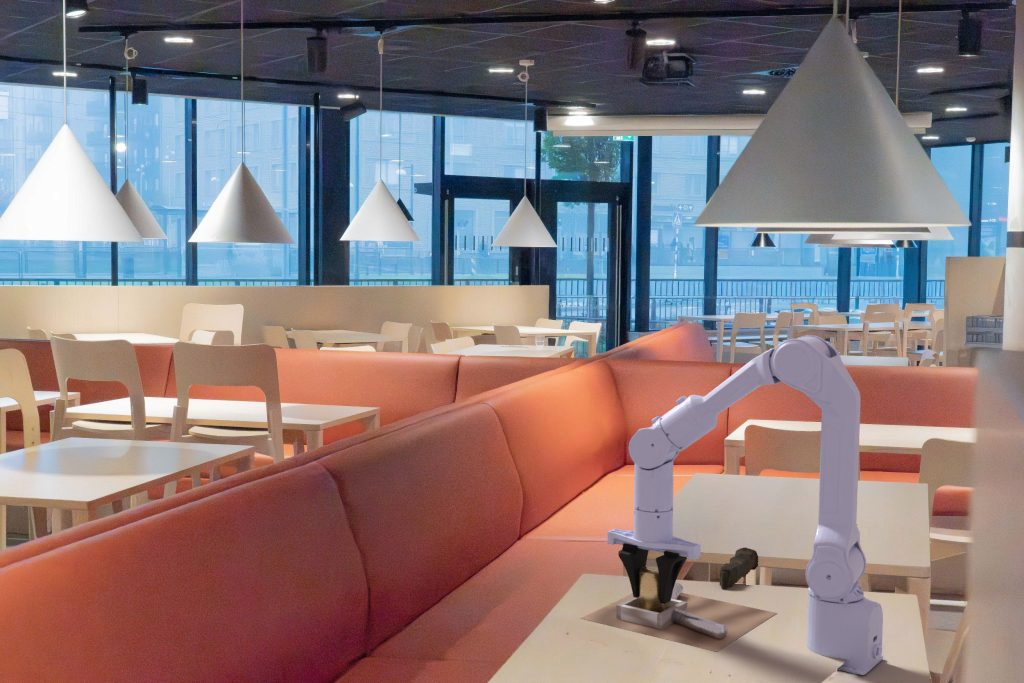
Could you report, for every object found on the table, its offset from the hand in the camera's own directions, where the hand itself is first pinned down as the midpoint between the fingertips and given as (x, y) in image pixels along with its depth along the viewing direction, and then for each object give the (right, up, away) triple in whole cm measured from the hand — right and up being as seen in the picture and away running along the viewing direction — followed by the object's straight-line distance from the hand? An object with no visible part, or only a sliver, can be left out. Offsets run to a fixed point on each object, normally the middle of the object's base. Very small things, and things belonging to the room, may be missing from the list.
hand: (652, 598), depth 158 cm
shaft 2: (+6, -3, -6) cm, 9 cm away
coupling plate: (+4, -4, +1) cm, 6 cm away
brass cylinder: (0, -2, 0) cm, 2 cm away
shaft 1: (+4, -2, +7) cm, 8 cm away
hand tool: (+18, -3, +22) cm, 29 cm away
